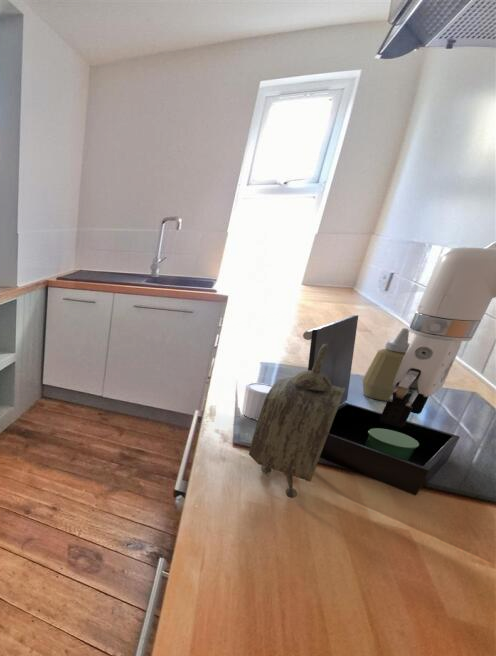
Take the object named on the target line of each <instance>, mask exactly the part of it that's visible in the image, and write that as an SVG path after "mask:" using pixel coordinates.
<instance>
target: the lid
mask: <svg viewBox="0 0 496 656" xmlns="http://www.w3.org/2000/svg"><path fill="white" fill-rule="evenodd" d="M358 322H359V315H357V314H356V315H355V314H354V315H351V316H348V317H345V318H342V319H339V320H336V321H332V322H330V323H327V324H324V325H321V326H319V327H315V328H311V329H310V330H306V331H304V332H303V334H302V337H303V339H304V340H305V341H309V340H310V347H309V355H308V356H309V357H308V367H307V371H312V369H313V366H314V363H315V362H316V359H317V356H318V353H319V350H320V348H321V347H322V345H324V344H327V345H328V347H327V350H326V353H325V355H324V358H323V362H322V364H323V365H322V368H321V370H320V372H321V373H323V374H326V376H327V377H328V378H329V379H330V381H331V384H332V386H337V387H341V388H345V391H344V394H343V396H342V399H341V402H340V404H342V403H344V402H347V401H348V396H349V389H350V381H351V376H352V375H351V373H352V367H353V359H354V351H355V345H356V336H357V329H358ZM340 404H339V405H340Z"/></svg>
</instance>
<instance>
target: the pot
mask: <svg viewBox="0 0 496 656" xmlns="http://www.w3.org/2000/svg"><path fill="white" fill-rule="evenodd" d="M368 435H369V436H368V438H367V441H366V443H365V446H366V447H369V448H372V449H375V450H377V451H380V452H383V453H386V454H389V455H392V456H394V457H397V458H400V459H403V460H406V461H409V460H410V458H411V456H412V453H413V451H414V449H416V448H418V446H419V443H418V441H416V440H415V439H414V438H412V437H410V436H408V435H405V434H403V433H400V432H396V431H393V430H388V429H381V428H373V429H370V430H369V431H368Z"/></svg>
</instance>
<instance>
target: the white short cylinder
mask: <svg viewBox="0 0 496 656" xmlns="http://www.w3.org/2000/svg"><path fill="white" fill-rule="evenodd" d="M272 387H273V385H271V384H267V383H262V382H248V383H247V384H245V389H244V395H243V402H242V408H241V414H242V413H243V414H244V415H245V416H247V417H249V418H248V419H250V418H253V419H259V416H260V413H261V409H262V406H263V403H264V400H265V398H266V396H267V394H268V392H269V391H270V389H271V388H272ZM243 414H242V415H243ZM244 415H243V416H244ZM245 416H244V417H245ZM247 417H246V418H247ZM253 419H252V420H253Z"/></svg>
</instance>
